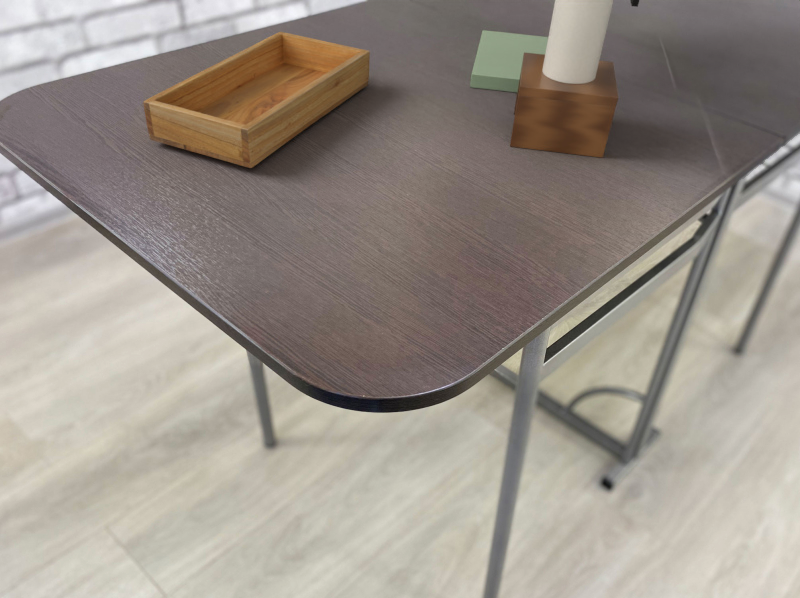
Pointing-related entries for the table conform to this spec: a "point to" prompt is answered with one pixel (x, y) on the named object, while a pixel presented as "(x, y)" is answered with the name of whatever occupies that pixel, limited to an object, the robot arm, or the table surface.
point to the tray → (257, 98)
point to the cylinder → (576, 40)
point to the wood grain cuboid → (563, 110)
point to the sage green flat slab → (503, 59)
